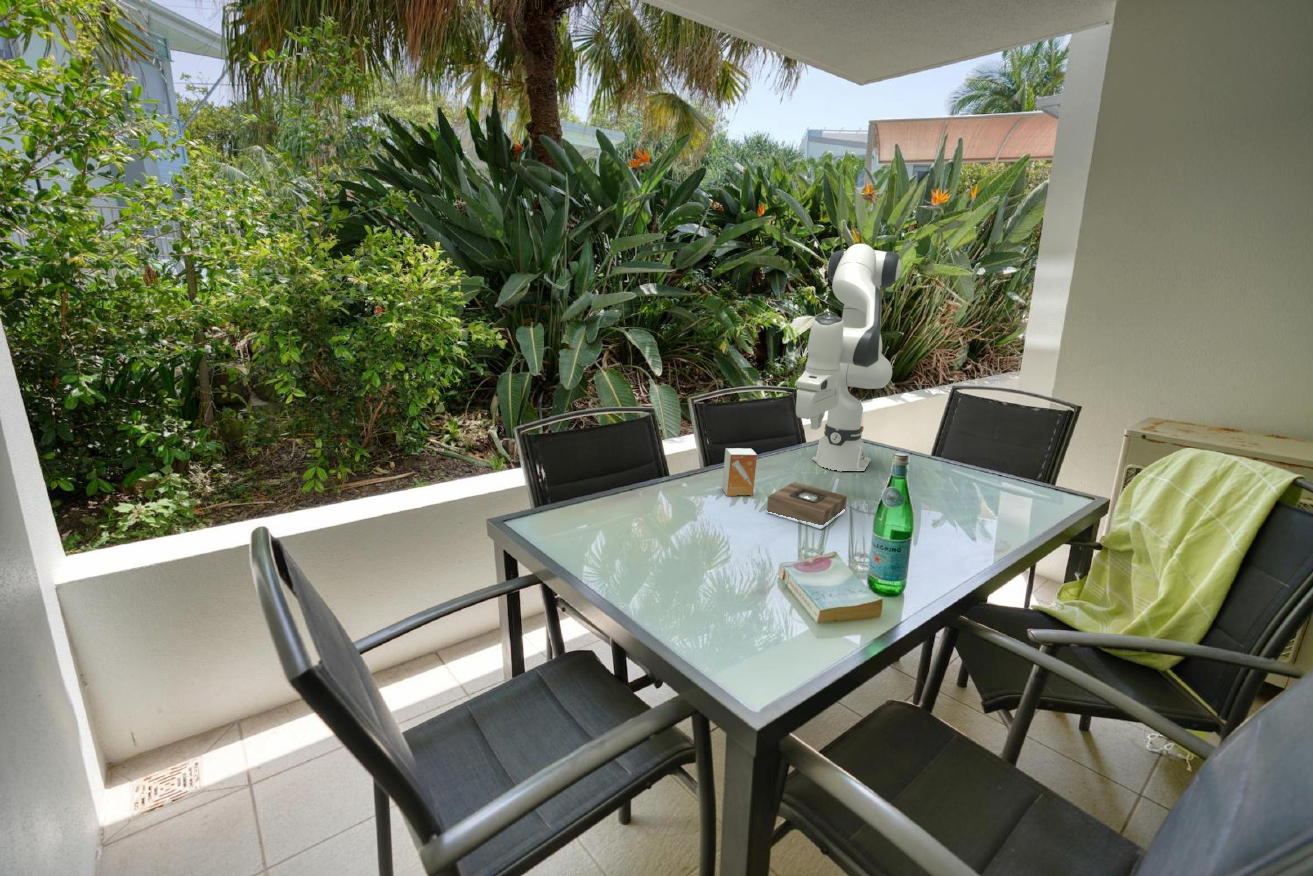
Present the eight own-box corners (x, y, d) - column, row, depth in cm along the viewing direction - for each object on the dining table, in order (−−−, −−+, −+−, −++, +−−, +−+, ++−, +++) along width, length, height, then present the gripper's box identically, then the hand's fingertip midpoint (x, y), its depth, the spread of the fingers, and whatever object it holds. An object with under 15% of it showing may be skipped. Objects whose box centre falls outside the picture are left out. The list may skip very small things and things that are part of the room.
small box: (726, 496, 180) (730, 454, 176) (721, 488, 186) (725, 447, 182) (753, 496, 181) (757, 454, 177) (747, 488, 187) (751, 447, 183)
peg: (801, 506, 174) (803, 491, 172) (818, 511, 171) (820, 495, 170) (794, 511, 170) (795, 495, 169) (810, 516, 167) (812, 500, 166)
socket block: (792, 497, 181) (794, 481, 180) (844, 512, 172) (847, 495, 171) (766, 513, 169) (768, 495, 167) (821, 530, 160) (824, 511, 158)
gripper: (825, 371, 173) (820, 418, 177) (793, 381, 157) (788, 433, 161) (847, 374, 169) (841, 423, 173) (817, 385, 153) (811, 438, 158)
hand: (815, 428), depth 167 cm, fingers closed
